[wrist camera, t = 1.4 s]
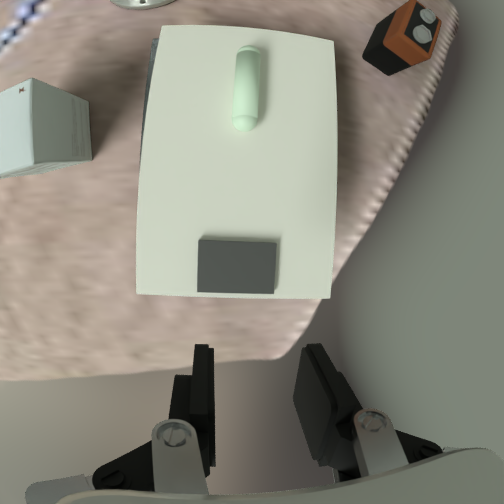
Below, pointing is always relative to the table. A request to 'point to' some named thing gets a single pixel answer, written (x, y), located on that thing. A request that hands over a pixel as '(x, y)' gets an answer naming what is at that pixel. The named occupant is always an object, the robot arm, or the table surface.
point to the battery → (403, 38)
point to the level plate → (238, 165)
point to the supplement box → (42, 129)
